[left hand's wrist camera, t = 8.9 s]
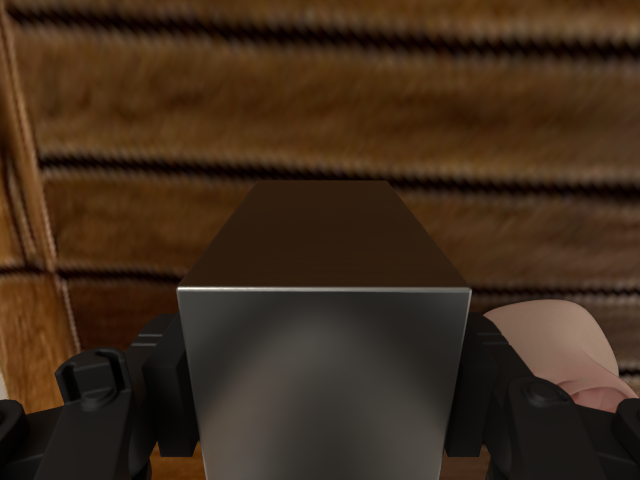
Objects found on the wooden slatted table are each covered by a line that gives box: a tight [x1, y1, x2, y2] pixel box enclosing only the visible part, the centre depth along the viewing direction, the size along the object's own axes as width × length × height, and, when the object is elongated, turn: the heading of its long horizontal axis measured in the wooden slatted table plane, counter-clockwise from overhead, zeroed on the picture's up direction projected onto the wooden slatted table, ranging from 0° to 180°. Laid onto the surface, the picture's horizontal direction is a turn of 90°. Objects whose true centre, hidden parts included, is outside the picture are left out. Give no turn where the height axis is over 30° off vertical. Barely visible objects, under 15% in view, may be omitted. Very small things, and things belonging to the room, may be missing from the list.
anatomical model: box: [483, 299, 638, 413], centre depth 29 cm, size 13×4×12 cm
